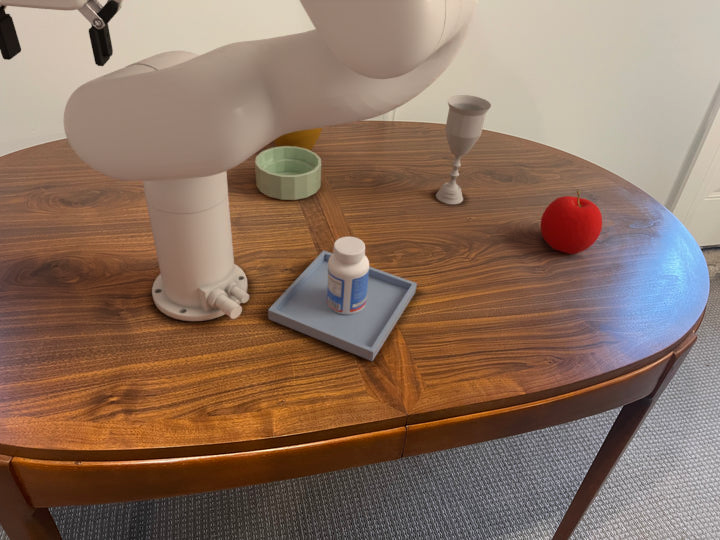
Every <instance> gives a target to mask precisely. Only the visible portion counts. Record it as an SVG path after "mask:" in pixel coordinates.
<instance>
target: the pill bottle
mask: <svg viewBox="0 0 720 540" xmlns="http://www.w3.org/2000/svg"><path fill="white" fill-rule="evenodd" d="M369 267H370V260H369V259H368V256H366V245H365V242H364V241H363V240H361V239H360V238H358V237H355V236H342V237H339V238H337V239H336V240H335V241H334V243H333V251H332V255H331V256H330V258H329V261H328V285H327V302H328V305H329V307H330V308H331V309H332V310H334V311H335V312H337V313H340V314H347V315H349V314H355V313H357V312H359V311H361V310H362V309H363V308H364V306H365V304H366V298H367V287H368V276H369Z"/></svg>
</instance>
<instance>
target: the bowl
mask: <svg viewBox="0 0 720 540" xmlns="http://www.w3.org/2000/svg"><path fill="white" fill-rule="evenodd" d="M254 170H255V186H256V188H257V189H258V190H259V192H260V193H261V194H263V195H265V196H267V197H269V198H273V199H277V200H281V201H297V200H302V199H307V198H310V197H311V196H313V195H316V194H317V192H318V191H319V190H320V189H321V185H322V159H321V157H320V156H319V155H318V154H317V153H316V152H314V151H312V150H311V151H310V150H308V149H305V148H300V147H295V146H280V147H276V146H274V147H270V148H267V149H265V150H261V152H259V153H258V154H257V155H256V156H255V160H254Z"/></svg>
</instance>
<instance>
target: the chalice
mask: <svg viewBox="0 0 720 540" xmlns="http://www.w3.org/2000/svg"><path fill="white" fill-rule="evenodd" d="M446 100H447V104H448V113H447V118H446V124H445V135H446V140H447V144H448V148H449V151H450V153H451V154H453V155H454V160H453V161H452V163H451V165H452V170H451V171H449V173H448V174H449V175H450V180H449V181H448V182H445V183H444V184H442V185H441V187H440V188H439V189H438V191H437V192H436V194H435V197H436V199H437V200H438V201H439V202H441V203H444V204H447V205H458V204H461V203H462V202H463V201H464V197H463V192H462V188H461V187H460V185H459V184H458V183H457V181H456V180H457V179H458V177H459V176H460V173H459V168H460V167H461V166H462V164H461V158H462V156H466V155H467V154H468V153H469V152H470V151H471V149H472V148H473V147H474V146H475V145H476V144H477V142H478V140H479V139H480V137H481V135H482V133H483V128H484V123H485V120H486V114H487V112H488V111H490V109H491V107H492V104H491V103H490V101H488V100H486V99H484V98H482V97H479V96H475V95H467V94H457V95H453V96H450V97H448V98H447V99H446Z"/></svg>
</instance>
